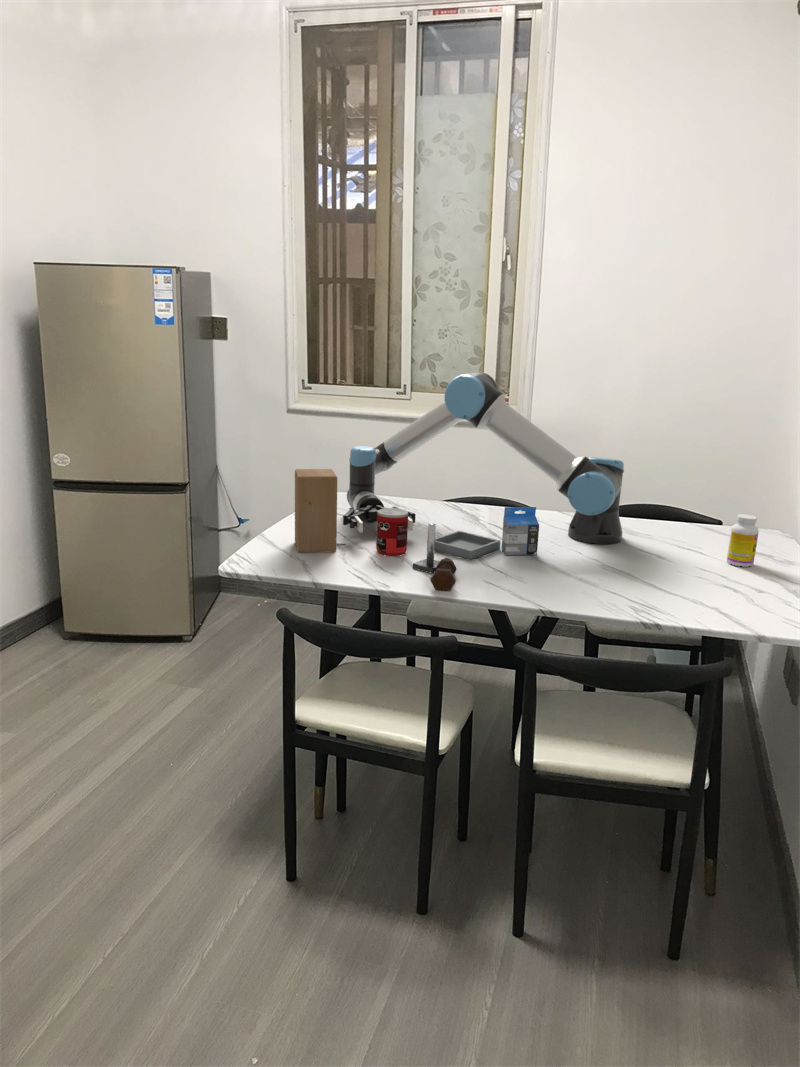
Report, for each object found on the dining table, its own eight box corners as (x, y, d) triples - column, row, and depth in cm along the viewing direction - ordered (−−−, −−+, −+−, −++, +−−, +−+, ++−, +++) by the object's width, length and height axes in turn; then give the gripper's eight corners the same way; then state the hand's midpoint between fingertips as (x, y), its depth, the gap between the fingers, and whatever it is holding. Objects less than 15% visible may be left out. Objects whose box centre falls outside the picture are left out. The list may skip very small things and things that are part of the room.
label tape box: (504, 556, 207) (508, 510, 203) (500, 551, 211) (504, 506, 207) (537, 555, 208) (541, 510, 205) (532, 551, 212) (536, 506, 209)
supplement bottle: (753, 569, 203) (761, 521, 200) (726, 565, 206) (733, 517, 202) (752, 562, 209) (760, 515, 206) (725, 558, 212) (732, 512, 208)
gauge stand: (446, 568, 195) (449, 524, 192) (432, 573, 191) (434, 528, 188) (427, 562, 199) (429, 519, 196) (412, 567, 194) (414, 523, 191)
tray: (499, 549, 212) (500, 540, 211) (470, 560, 201) (471, 551, 201) (458, 539, 220) (459, 530, 219) (428, 549, 210) (429, 540, 209)
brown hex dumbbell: (449, 578, 194) (445, 597, 179) (432, 567, 194) (426, 585, 179) (462, 559, 192) (459, 577, 178) (445, 548, 192) (440, 565, 178)
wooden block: (297, 553, 202) (297, 476, 197) (294, 542, 212) (294, 468, 206) (336, 552, 204) (337, 476, 199) (331, 541, 214) (332, 468, 208)
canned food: (374, 548, 209) (376, 507, 206) (404, 548, 210) (406, 508, 207) (377, 556, 202) (378, 515, 199) (408, 556, 203) (410, 515, 200)
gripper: (409, 518, 232) (431, 538, 212) (325, 521, 226) (339, 542, 206) (410, 493, 230) (432, 511, 210) (326, 495, 223) (340, 514, 204)
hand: (386, 526), depth 208 cm, fingers open, 13 cm apart
